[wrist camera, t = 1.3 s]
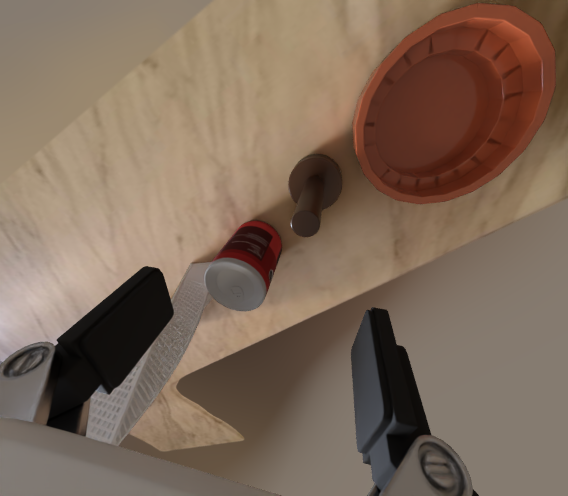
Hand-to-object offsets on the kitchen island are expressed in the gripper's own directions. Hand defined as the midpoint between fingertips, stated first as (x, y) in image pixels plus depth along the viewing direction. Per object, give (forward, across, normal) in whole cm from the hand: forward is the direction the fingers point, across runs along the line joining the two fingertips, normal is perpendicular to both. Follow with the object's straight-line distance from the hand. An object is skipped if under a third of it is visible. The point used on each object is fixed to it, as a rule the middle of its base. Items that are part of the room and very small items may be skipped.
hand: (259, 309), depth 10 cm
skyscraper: (+23, +16, +19) cm, 34 cm away
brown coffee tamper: (+23, -1, 0) cm, 23 cm away
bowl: (+23, -11, -7) cm, 26 cm away
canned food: (+23, +6, +11) cm, 26 cm away
